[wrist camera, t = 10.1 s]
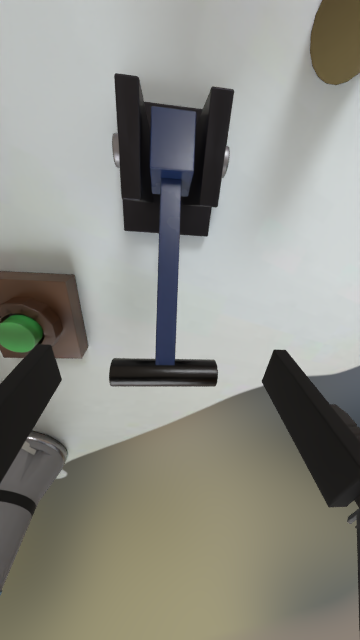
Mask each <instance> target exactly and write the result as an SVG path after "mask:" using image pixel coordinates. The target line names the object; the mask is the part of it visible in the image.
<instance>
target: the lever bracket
mask: <svg viewBox="0 0 360 640" xmlns="http://www.w3.org/2000/svg"><path fill="white" fill-rule="evenodd" d="M114 77H115V94H116V111H117V128H118V134H117V133H114V134H113V138H112V147H113V157H114V162H115V165H116V167H117V168H120V178H121V195H122V199H123V214H124V230H125V231H136V232H150V233H159V223H160V194H153V193H152V189H151V178H150V167H149V166H150V127H151V106H156V107H164V108H172V109H180V110H188V111H195V112H196V138H195V162H194V174H193V178H192V182H191V186H190V190H189V194H188V196H187V197H186V196H181V212H180V235H193V236H208V230H209V222H210V214H211V207H217V206H218V200H219V193H220V186H221V179H222V178H223V177H224V176H225V174H226V171H227V167H228V162H229V154H230V151H229V147H228V146H226V144H227V137H228V130H229V123H230V116H231V109H232V102H233V95H234V90H233V89H226V88H219V87H212V88H211V90H210V93H209V95H208V98H207V100H206V103H205V105H204V108H203V109H196V108H188V107H181V106H173V105H165V104H157V103H150V102H144V100H143V95H142V90H141V85H140V80H139V77H137V76H131V75H124V74H117V73H116V74H115V76H114Z"/></svg>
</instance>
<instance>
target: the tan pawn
mask: <svg viewBox="0 0 360 640" xmlns="http://www.w3.org/2000/svg"><path fill="white" fill-rule="evenodd" d="M310 54H311V60H312V66H313V68H314V70H315V72H316V74H317V76H318V77H319V78H320V79H321V80H323V81H324V82H325V83H327V84H334V85H338V84H341V83H344V82H347V81H349V80H350V79H352V78H353V77H354V76H356V75H357V74H359V73H360V0H322V3H321V5H320V7H319V9H318V11H317V14H316V16H315V20H314V24H313V28H312V32H311V44H310Z"/></svg>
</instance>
